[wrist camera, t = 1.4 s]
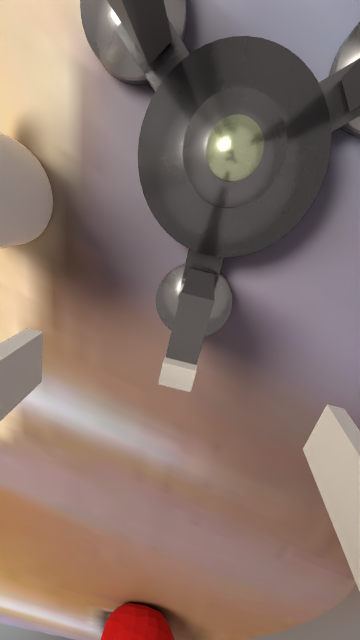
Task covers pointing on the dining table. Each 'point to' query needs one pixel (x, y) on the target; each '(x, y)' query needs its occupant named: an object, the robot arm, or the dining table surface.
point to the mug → (22, 194)
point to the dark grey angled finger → (188, 331)
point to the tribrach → (225, 140)
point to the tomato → (136, 624)
